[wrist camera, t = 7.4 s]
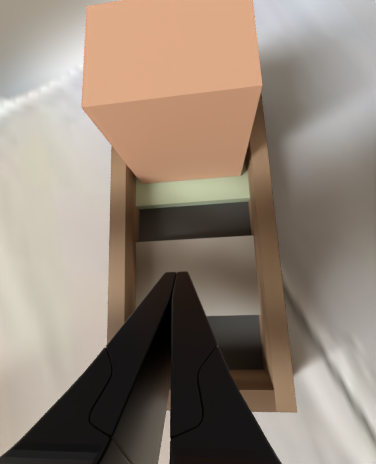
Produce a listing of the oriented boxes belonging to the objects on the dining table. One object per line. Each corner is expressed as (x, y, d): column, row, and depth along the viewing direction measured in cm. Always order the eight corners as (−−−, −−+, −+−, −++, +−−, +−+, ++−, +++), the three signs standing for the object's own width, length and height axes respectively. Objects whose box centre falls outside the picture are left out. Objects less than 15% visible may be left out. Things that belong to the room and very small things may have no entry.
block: (240, 175, 17) (262, 85, 9) (142, 184, 17) (81, 107, 10) (235, 111, 18) (250, -22, 10) (141, 122, 18) (86, 6, 10)
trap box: (281, 385, 15) (297, 412, 12) (125, 384, 16) (105, 409, 13) (251, 98, 19) (257, 65, 16) (128, 113, 20) (112, 84, 17)
